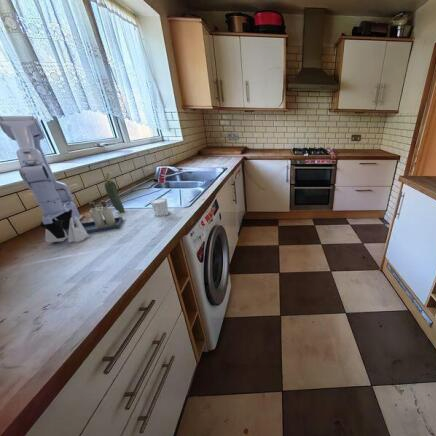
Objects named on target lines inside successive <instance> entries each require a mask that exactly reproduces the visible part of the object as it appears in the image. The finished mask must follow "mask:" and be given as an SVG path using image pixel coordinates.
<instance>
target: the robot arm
mask: <svg viewBox="0 0 436 436" xmlns="http://www.w3.org/2000/svg"><path fill="white" fill-rule="evenodd" d="M0 129H1V130H2V132H3V133H4V134H5V135H6V136H7V137H8V138H10V140H11V141H15V142H16V143H17V145H18V147H19V149H17V150H16V152H15V153H16V156H17V159H18V163H19V166H20V168H18V172H19V175H20V177H21V179H22V181H23V182H24V183H25V185H26V186H27V188H28V190H30V191H31V193H32V195H33V196H34V198H35V200H36V202H37V204H38V206H39V208H40V210H41V212H42V219H41V222H40V223H39V225H40V227H42V228H44V230H46V229H47V230H49V231H50V232H51V233H52V234H53V235H54V236H55V237H56V238H57V239H59V238H65V233H64V230H63V228H64V229H65V230H67V229H69V222H70V218H72V219H73V223H74V224H75V219H74V217H77V218H78V220H79V221H80V220H81V219H82V218H83V216H84V215H83V214H82V215H81V214H80V212H79V209H78V208H77V206H76V203H74V202H73V201H74V196H73V194H72V192H71V190H70V188H69V186H68V185H67V183H65V182H61V181H58V180H57V179H56V177H55V175H54V172H53V171H52V168H51V167H50V164H49V161H48V159H47V157H46V155H45V153H44V150H43V148H42V146H41V140H43V139H45V133H44V130H43V127H42V125H41V123H40V121H39V119H38V117H37V116H36V115H0ZM55 218H56V219H57V220H55Z"/></svg>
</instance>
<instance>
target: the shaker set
mask: <svg viewBox="0 0 436 436" xmlns="http://www.w3.org/2000/svg"><path fill="white" fill-rule="evenodd" d="M74 219H75V224H76V227H75V226H74V223H73V219H72V218H70V222H69V234H68V235H67V234H66V232H65V231H64V233H65V238H59V239H57V238H56V237H55V236H54V235H53V234H52V233H51V232H50V231H49V230H47V229H45V236H44V237H45V238H44V242H45V243H60V242H65V240H67V242H68V243H72V242H73V243H78V242H81V241H84V240H85V239H86V238H89V237H90V235H89V234H87V232H86V230H85V229H84V227H83V226H82V224H81V223H82V222H81V221H80V220H78V218H77V217H74ZM55 220H57V219H56V218H55ZM63 230H64V229H63Z"/></svg>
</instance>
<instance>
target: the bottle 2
mask: <svg viewBox="0 0 436 436" xmlns="http://www.w3.org/2000/svg"><path fill="white" fill-rule="evenodd" d="M100 204H101V209H100V212H101V215H102V217H103V219H104V220H105V221H106V224H107V226H114V225H117V224H116V221H115V219H114V218H115V216H114V214H113V211H112V208H111V207H110V206H108V204H107V203H106V200H100Z"/></svg>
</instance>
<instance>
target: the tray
mask: <svg viewBox="0 0 436 436" xmlns="http://www.w3.org/2000/svg"><path fill="white" fill-rule="evenodd" d="M114 219H115V221H116V224H117V225H114V226H107V224H106V221H105V219H104V222H105V224H106V227H101V228H96V225H95V223H94V220H92V221H86V222H81V224H82V226H83V227H84V229H85V230H86V232H87V234H88V235H89V234H95V233H100V232H107V231H113V230H119V229H120V227H121V225H122V224H123V221H124V218H123V217H122V216H119V217H118V216H117V217H114ZM74 226H75V227H76V224H74ZM63 229H64V228H63ZM64 231H65V232H66V234H67V235H68V234H69V229H67V230H65V229H64Z"/></svg>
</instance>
